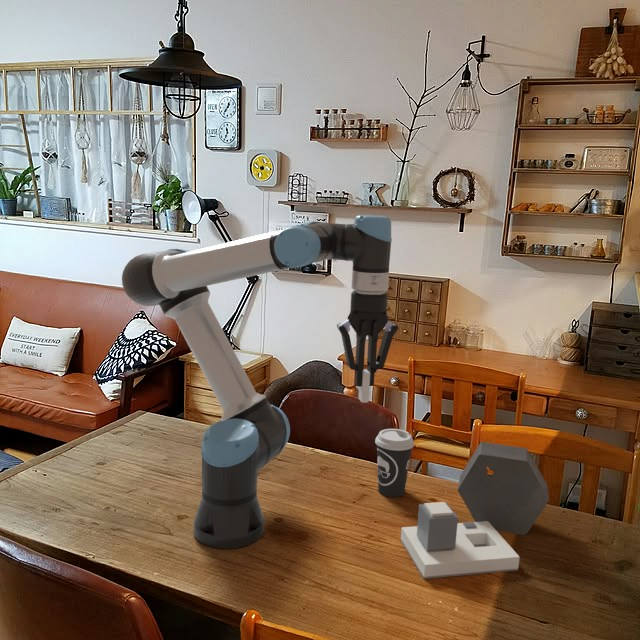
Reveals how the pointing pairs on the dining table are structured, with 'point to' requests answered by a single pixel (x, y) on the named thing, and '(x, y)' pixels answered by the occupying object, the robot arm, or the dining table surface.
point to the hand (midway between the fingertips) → (363, 400)
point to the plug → (437, 526)
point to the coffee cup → (393, 461)
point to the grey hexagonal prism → (503, 488)
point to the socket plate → (463, 552)
